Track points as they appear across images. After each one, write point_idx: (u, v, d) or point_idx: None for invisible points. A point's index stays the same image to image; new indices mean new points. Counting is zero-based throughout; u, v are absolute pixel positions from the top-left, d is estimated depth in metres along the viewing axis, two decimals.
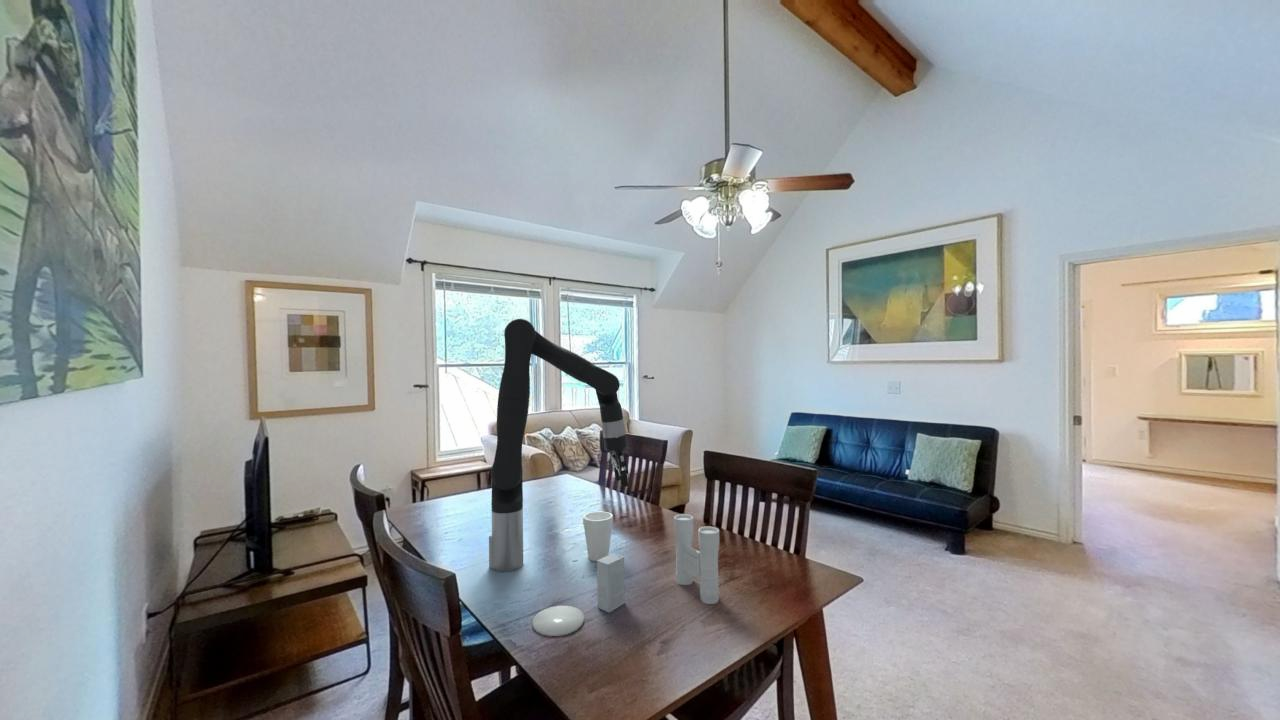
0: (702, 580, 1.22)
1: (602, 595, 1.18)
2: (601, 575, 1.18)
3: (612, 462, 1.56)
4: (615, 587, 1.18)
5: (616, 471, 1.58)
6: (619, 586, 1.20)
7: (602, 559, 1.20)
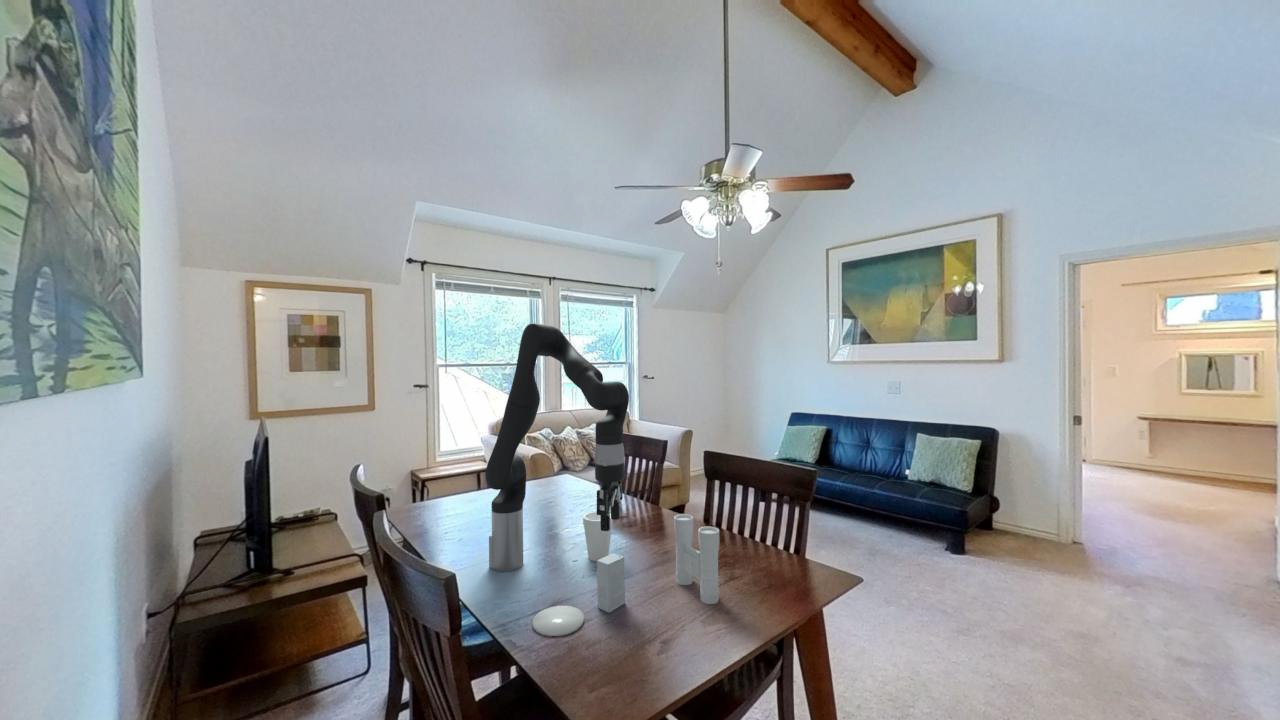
0: (702, 580, 1.22)
1: (602, 595, 1.18)
2: (601, 575, 1.18)
3: None
4: (615, 587, 1.18)
5: (613, 507, 1.24)
6: (619, 586, 1.20)
7: (602, 559, 1.20)
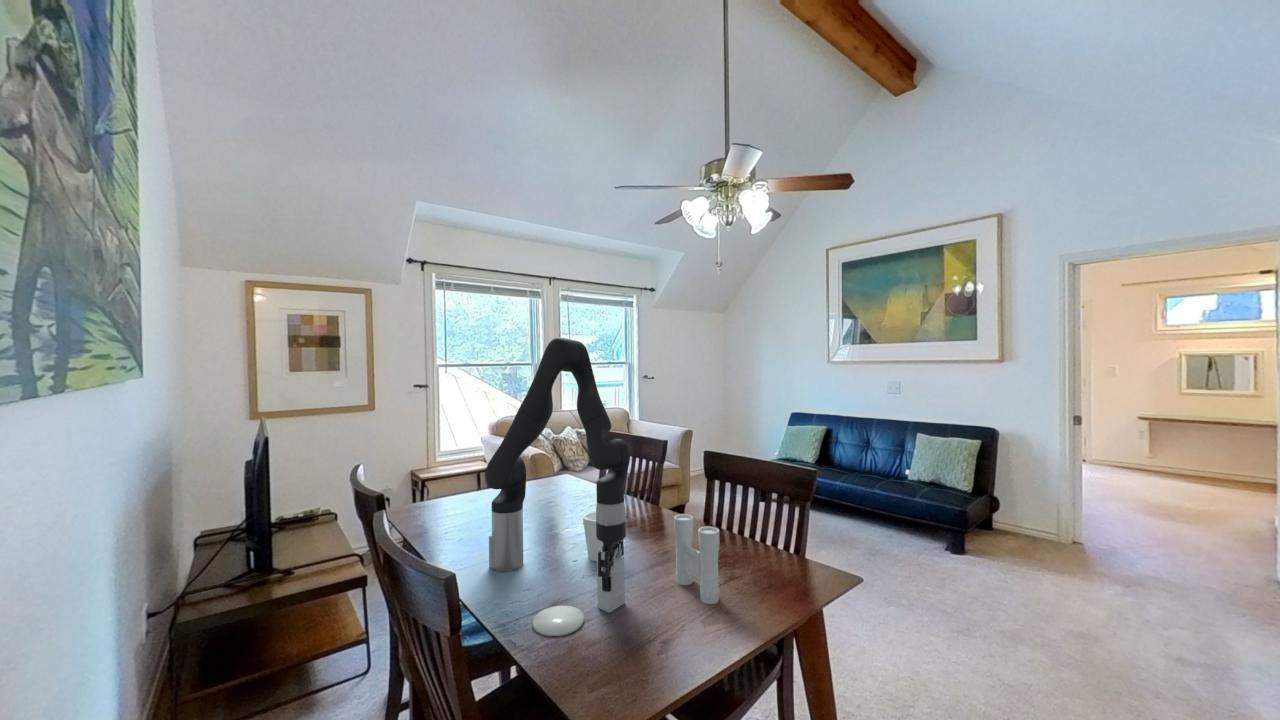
0: (702, 580, 1.22)
1: (602, 595, 1.18)
2: None
3: None
4: (615, 587, 1.18)
5: None
6: (619, 586, 1.20)
7: None
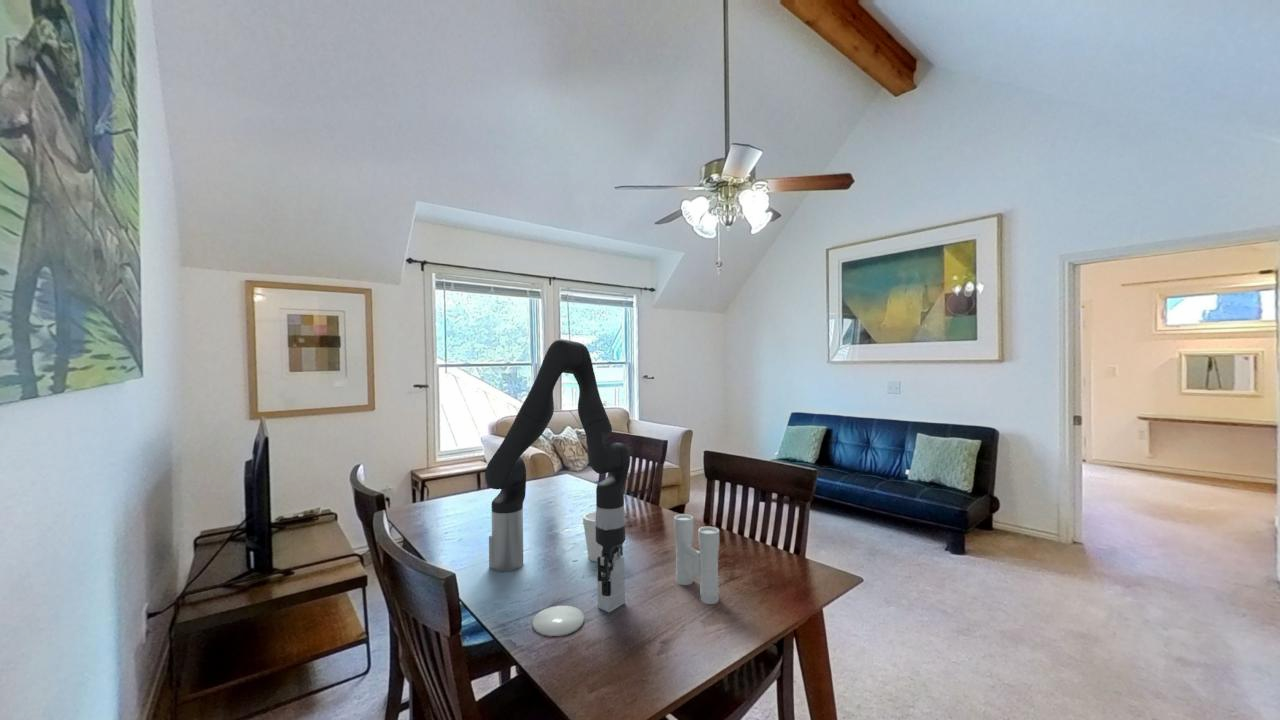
0: (702, 580, 1.22)
1: (602, 595, 1.18)
2: None
3: None
4: (615, 587, 1.18)
5: None
6: (619, 586, 1.20)
7: None
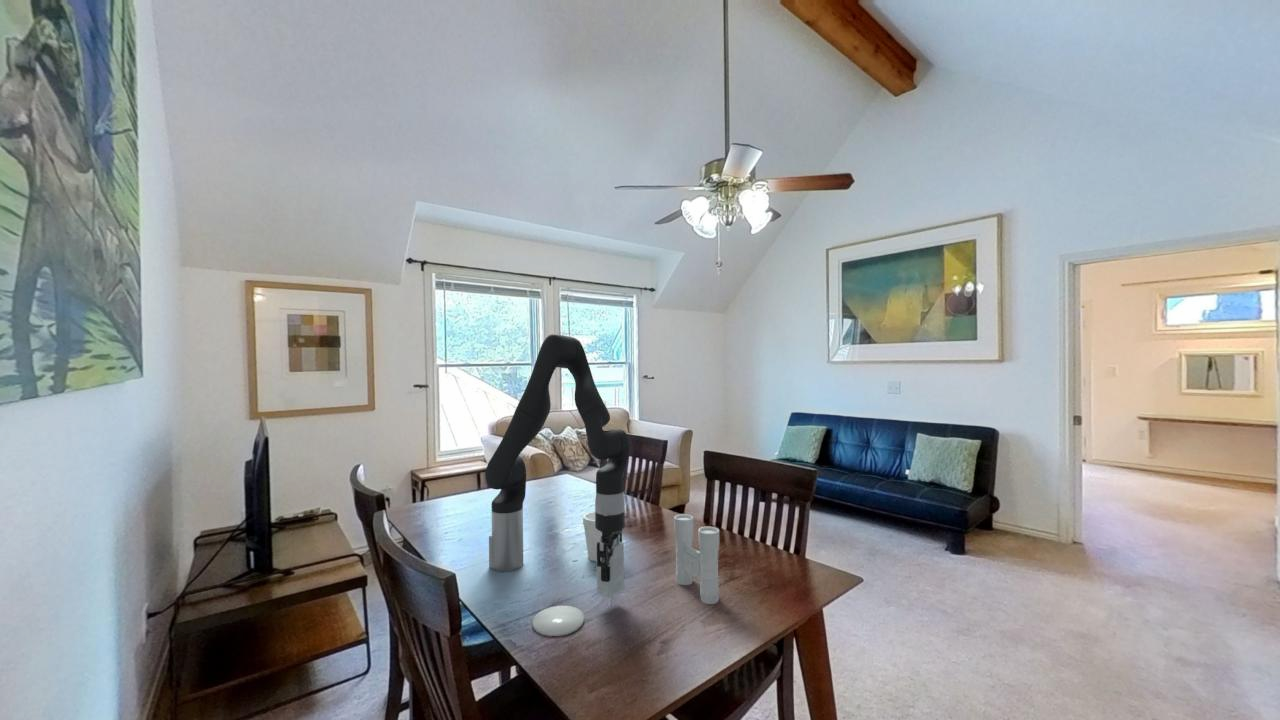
0: (702, 580, 1.22)
1: (601, 581, 1.18)
2: None
3: None
4: (614, 573, 1.18)
5: None
6: (619, 572, 1.20)
7: None
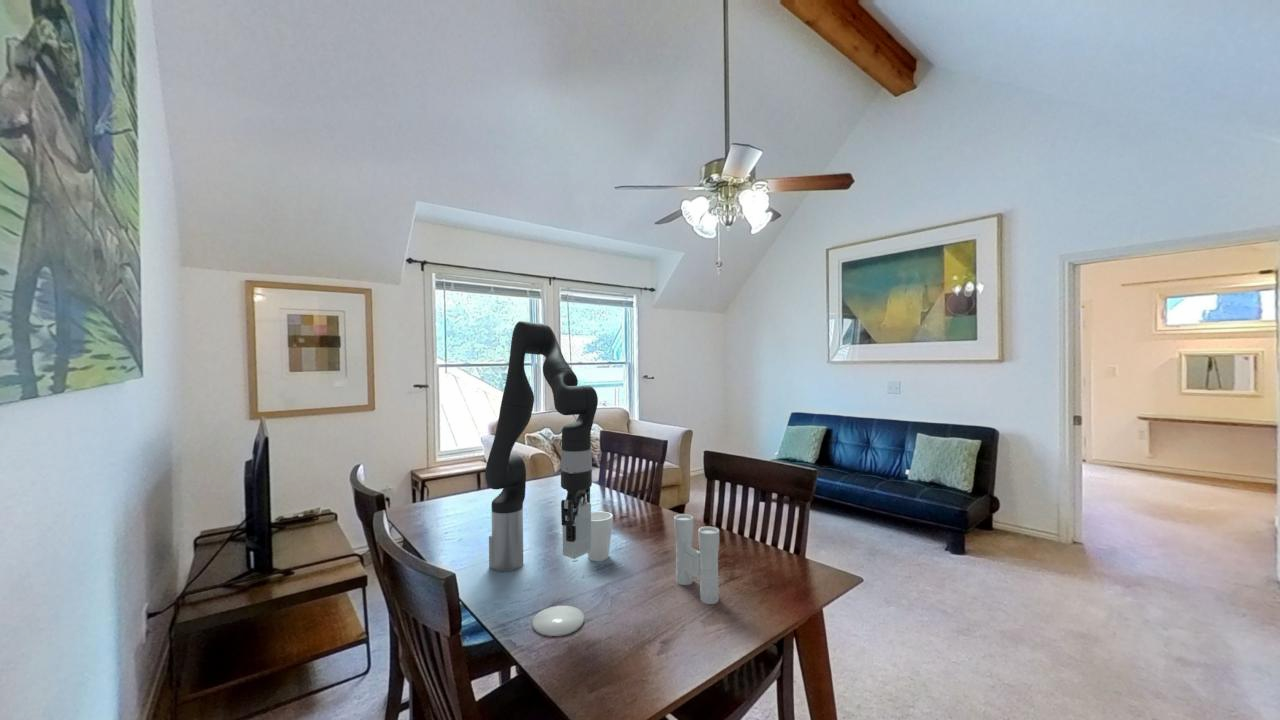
0: (702, 580, 1.22)
1: (567, 541, 1.14)
2: None
3: None
4: (581, 534, 1.14)
5: None
6: (586, 533, 1.15)
7: None
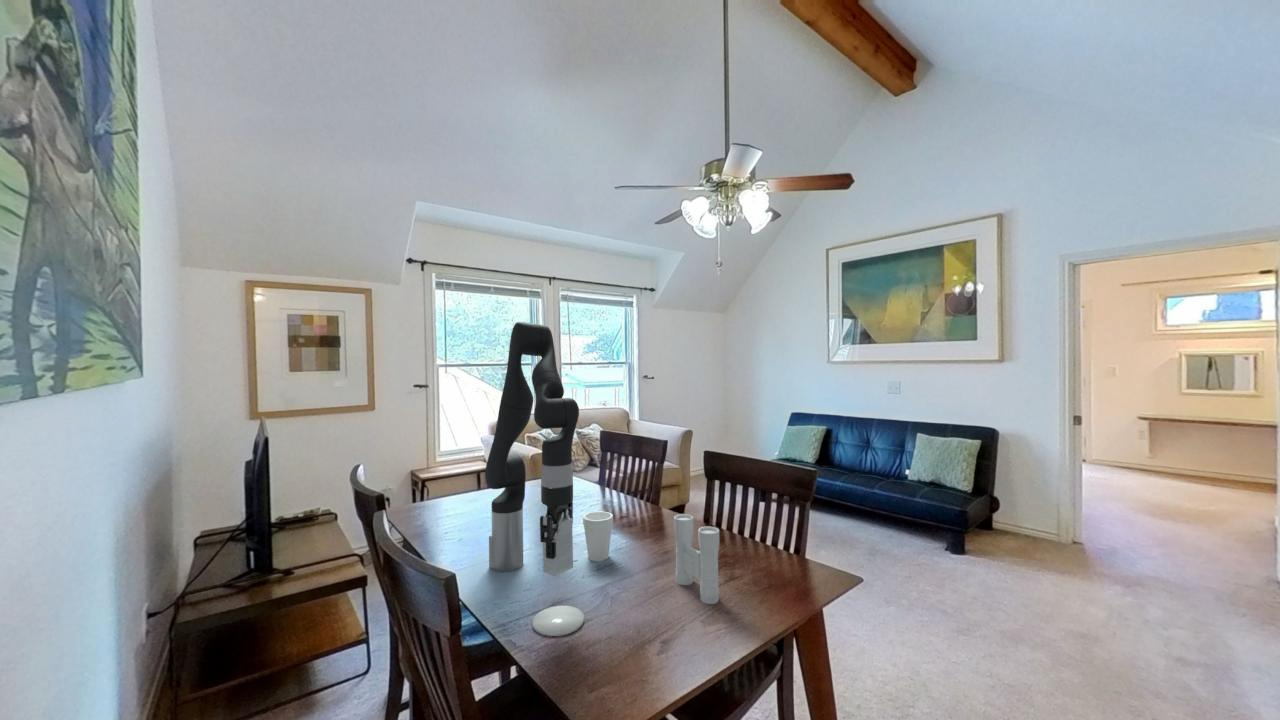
0: (702, 580, 1.22)
1: (547, 558, 1.11)
2: None
3: None
4: (561, 550, 1.11)
5: None
6: (567, 549, 1.12)
7: None
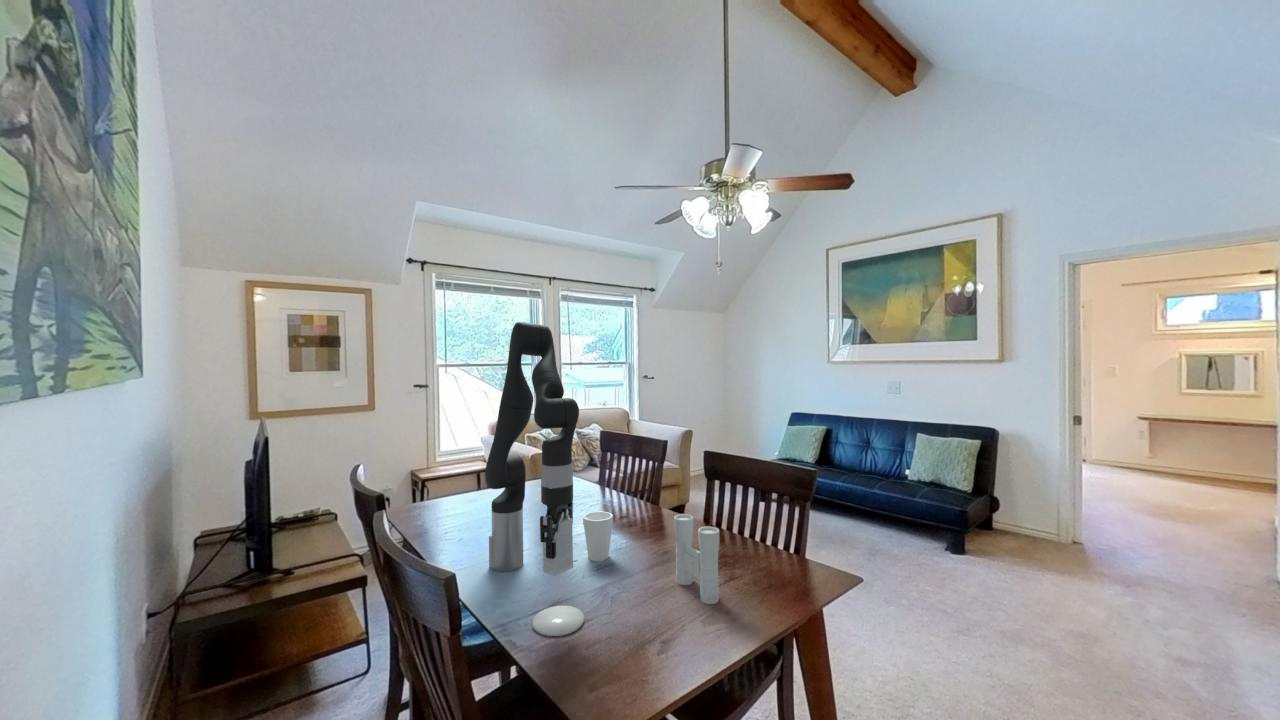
0: (702, 580, 1.22)
1: (547, 558, 1.11)
2: None
3: None
4: (561, 550, 1.11)
5: None
6: (567, 549, 1.12)
7: None
